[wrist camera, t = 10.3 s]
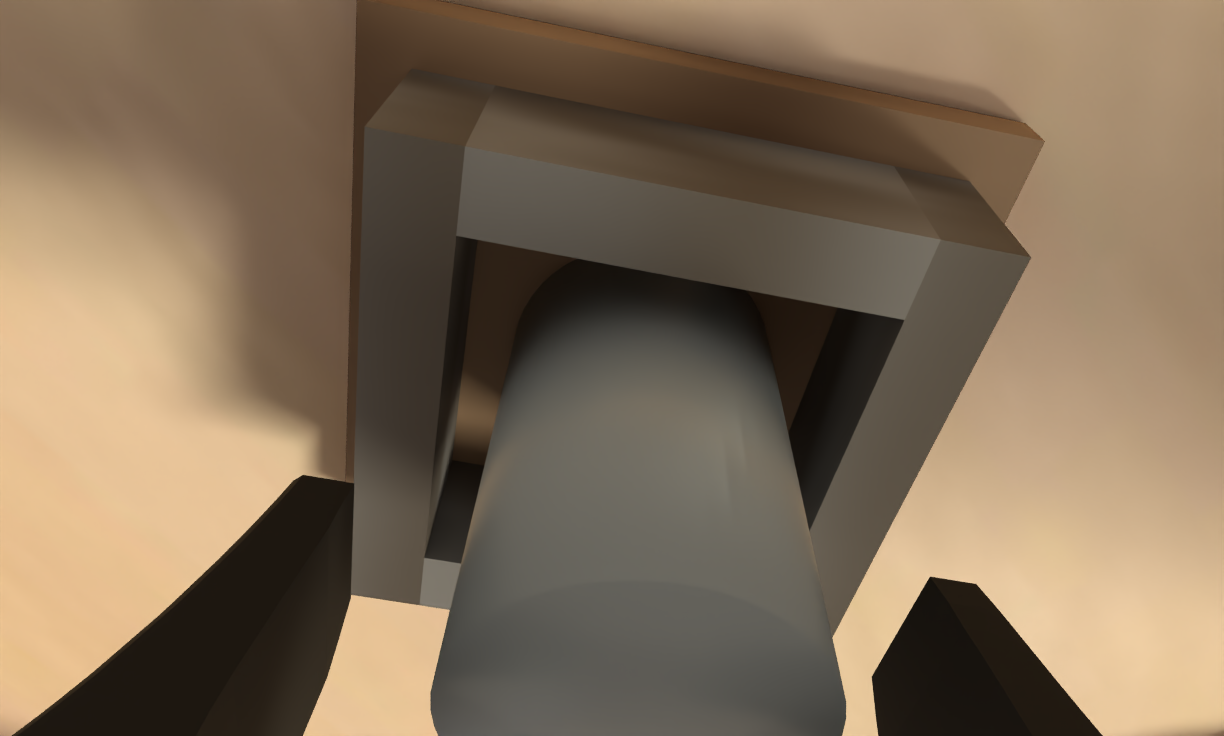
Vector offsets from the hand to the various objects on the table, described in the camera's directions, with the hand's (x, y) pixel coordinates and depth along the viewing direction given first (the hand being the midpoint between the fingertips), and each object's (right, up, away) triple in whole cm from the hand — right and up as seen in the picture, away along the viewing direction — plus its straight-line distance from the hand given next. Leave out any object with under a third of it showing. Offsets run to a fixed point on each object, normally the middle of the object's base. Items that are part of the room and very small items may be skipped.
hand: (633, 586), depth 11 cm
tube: (0, +3, +4) cm, 5 cm away
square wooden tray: (0, +3, +5) cm, 6 cm away
